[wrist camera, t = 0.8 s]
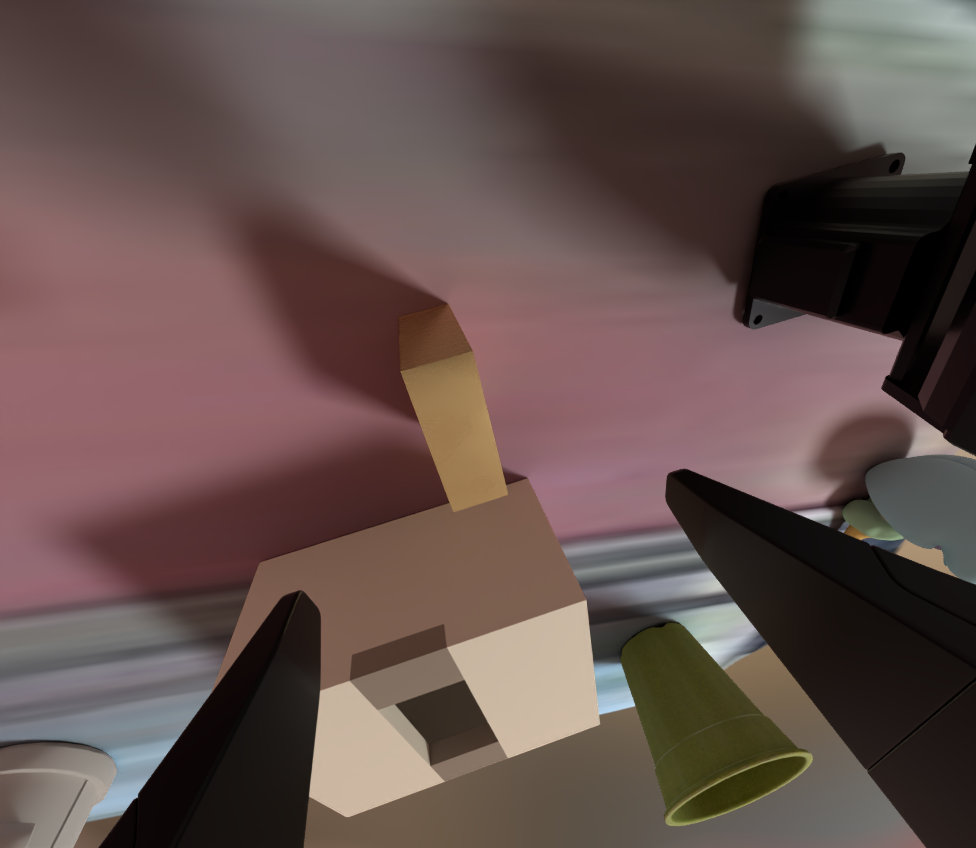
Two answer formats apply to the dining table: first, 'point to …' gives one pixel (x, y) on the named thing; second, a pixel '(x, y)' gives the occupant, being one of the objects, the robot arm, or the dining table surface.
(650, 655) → the plant pot
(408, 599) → the box
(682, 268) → the dining table surface
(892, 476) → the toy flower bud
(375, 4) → the dining table surface
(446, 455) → the block
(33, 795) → the cup
